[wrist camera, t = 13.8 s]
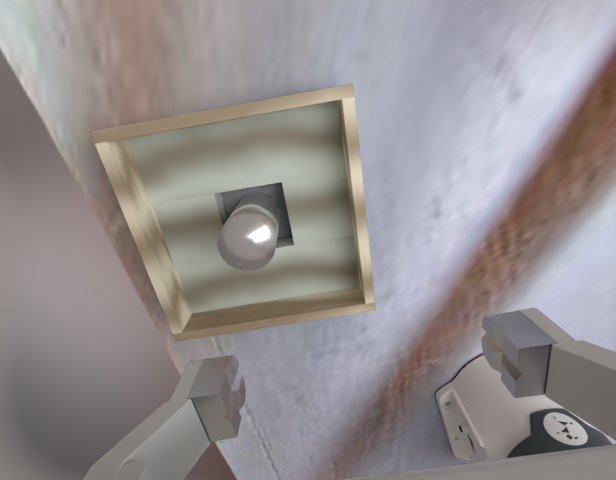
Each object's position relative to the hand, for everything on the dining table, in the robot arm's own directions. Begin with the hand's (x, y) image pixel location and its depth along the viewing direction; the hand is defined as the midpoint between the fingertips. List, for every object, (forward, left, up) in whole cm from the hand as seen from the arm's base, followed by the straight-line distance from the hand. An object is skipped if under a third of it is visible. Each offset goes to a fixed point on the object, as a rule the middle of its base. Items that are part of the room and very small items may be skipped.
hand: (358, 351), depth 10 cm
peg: (-2, +7, -26) cm, 27 cm away
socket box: (-2, +7, -26) cm, 27 cm away
